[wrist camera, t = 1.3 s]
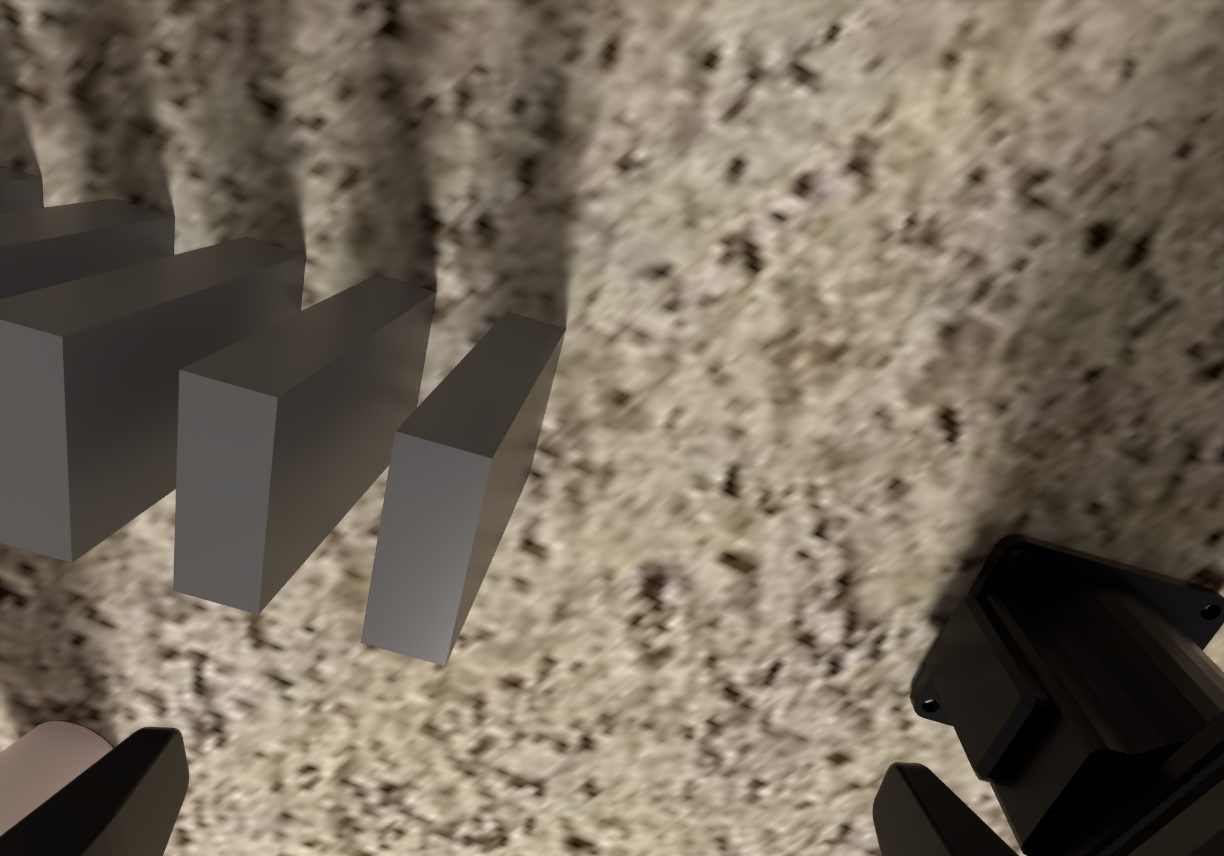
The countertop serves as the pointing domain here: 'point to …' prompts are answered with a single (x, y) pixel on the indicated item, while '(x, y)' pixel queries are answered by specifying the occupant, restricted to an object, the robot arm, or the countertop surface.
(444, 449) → the tile
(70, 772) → the smoothie
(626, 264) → the countertop surface
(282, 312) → the tile
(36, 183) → the tile
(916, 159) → the countertop surface
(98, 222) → the tile
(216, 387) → the tile
